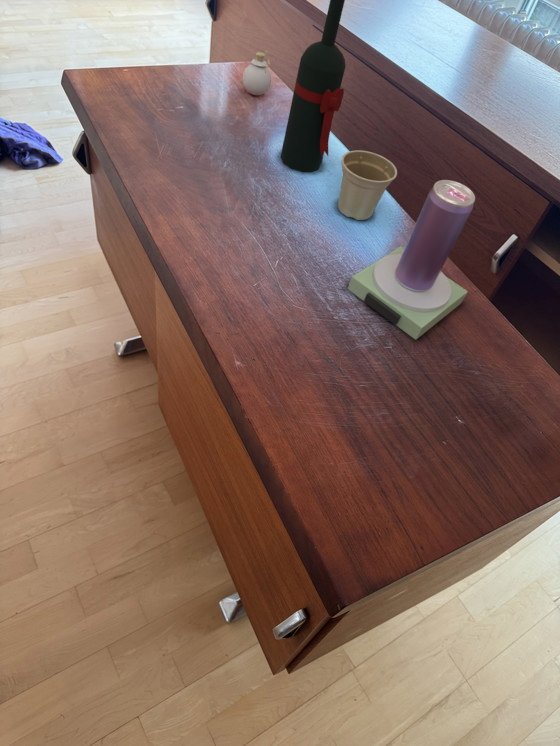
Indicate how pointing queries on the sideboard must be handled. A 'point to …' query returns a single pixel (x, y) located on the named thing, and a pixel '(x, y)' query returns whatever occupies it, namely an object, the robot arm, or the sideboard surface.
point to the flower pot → (363, 182)
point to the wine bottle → (315, 98)
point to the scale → (405, 296)
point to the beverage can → (434, 234)
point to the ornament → (257, 75)
